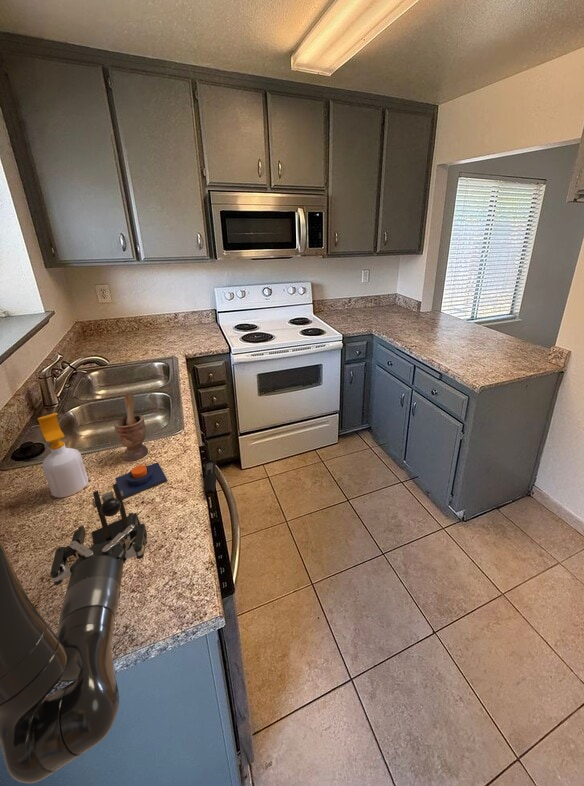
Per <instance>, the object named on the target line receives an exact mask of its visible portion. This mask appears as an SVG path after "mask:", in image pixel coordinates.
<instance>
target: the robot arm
mask: <svg viewBox="0 0 584 786" xmlns="http://www.w3.org/2000/svg"><path fill="white" fill-rule="evenodd" d="M133 514H134V512H129V513H128V515H127V516H128V522H127V528H126V529H125V530H124V531H123V532H122V533H119V534H118V535H117V536H116V537H115V538H114V539H113V540H112V541H111V540H109V541H106V542H104V543H102V544H96V545H94V544H93V545H91V546H90V547H89V548H88V547H87V546H85V545H84V543H85V539H86V535H87V532H86V529H85V526H84V525H81V526H78V528H77V529H76V530H75V531H74V532H73V535H72V538H71V541H70V542H69V543H68V545H67V546H59V547H58V548H56V550H55V553H54V557H53V560H52V564H51V569H50V572H49V575H50V577H51V581H52V582H53V585H54V586H59V585H60V584H62V583H63V581H64V579H66V578H69V580H68V584H67V587H66V591H65V594H64V598H63V603H62V607H61V610H60V614H59V622H58V629H57V631H56V634H55V632H54V631H53V630H52V628H51V627H50V625H49V624H48V623H47V622H46V621H45V619H44V618H43V617H42V615H41V614H40V613H39V611H38V610H37V609H36V607H35V606H34V604H33V602H32V601H31V600H30V598H29V596H28V595H27V593H26V591H25V589H24V588H23V585H22V583H21V581H20V579H19V577H18V575H17V573H16V571H15V569H14V567H13V563H12V561H11V560H10V557H9V555H8V553H7V551H6V548H5V546H4V544H3V542H2V541H1V539H0V747H1V752H2V755H3V761H4V764H5V767H6V770H7V772H8V773H9V775H10V777H11V778H12V779H14V780H15V781H17V782H19V783H21V784H22V783H23V784H36V783H38V782H40V781H43V780H44V779H46V778H48V777H49V776H51V775H53V774H54V773H55V772H57V771H58V770H60V769H61V768H63V767H65V766H66V765H67V764H70V763H71V762H72V761H74V760H76V759H77V758H79V757H80V756H82V755H83V754H84V753H86V752H88V751H89V750H91V749H92V748H94V747H95V746H97V745H98V744H99V743H100V742H102V741H103V740H104V738H106V737H107V735H108V734H109V733H110V730H111V729H112V727H113V725H114V723H115V721H116V718H117V715H118V712H119V707H120V693H119V692H120V691H119V688H118V683H117V677H116V674H115V668H114V660H113V651H112V641H113V633H114V625H115V619H116V615H117V612H118V608H119V602H120V599H121V585H122V579H123V571H124V564H125V563H126V562H127V561H128V559H130V558H134V557H136V559H137V560H141V559H143V558H144V557H145V551H146V545H147V544H146V541H147V539H148V533H147V528H146V524H144V523H140V525H139V526H137V524H138V520H137V516H138V515H137V516H136V514H137V513H136V514H135V515H133ZM128 535H129V536H128ZM135 538H136V540H135V542H133V543H132V546H131V548H130V549H129V550H127V549H128V548H129V546H130V543H131V542H132V541H133V540H134V539H135ZM119 542H120V545H119V544H118V543H119ZM126 550H127V551H126ZM71 557H73V558H74V559H76V560H75V561H74V562H73V563H72V564H71V565H70V567H68V565H67V563H68V558H71ZM59 682H65V683H67V682H70V683H69V684H67V685H65V686H64V687H62V688H61V689H58V690H57V691H55V692H54V693H52V694H50V693H51V692H52V690H53V689H54V688H55V687H56V685H58V683H59ZM49 694H50V695H49Z"/></svg>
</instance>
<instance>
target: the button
mask: <svg viewBox="0 0 584 786" xmlns="http://www.w3.org/2000/svg"><path fill="white" fill-rule="evenodd" d="M146 466H147V465H144V464H140V465H137V466H135V467H133V468H132V469H131V470H132V471H131V470H130V471H131V473H132V477H133V478H135V479H136V478H141V477H143V476H145V475H146V474H147V468H146Z"/></svg>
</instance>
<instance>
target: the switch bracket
mask: <svg viewBox="0 0 584 786" xmlns="http://www.w3.org/2000/svg"><path fill="white" fill-rule="evenodd" d="M112 488H113V489H112V490H113V493H114V497H115V498H116V499H118V500H119V501H120V503H121V507H120V510H119V515H120V519H118V520H116V521H114V522H110V523H109V524H108V521H107V518H106V517H107V516H104V515H103V514H102V513H101V505H102V504H103V502H102V501H101V500H102V499H101V496H100V493H99V490H95V491H93V492H92V494H93V499H94V501H92V505H93V508H94V509H95V508H96V510H97V514H98V517H99V520H100V524H101V527H99V528H97V529H95V530H93V531H91V534H92V539H93V545H96V544H102V543H104V542H106V541H109V540H111V541H112V540H113V539H114V538H115V537H116V536H117V535H118V534H119V533H122V532H123V531H124V530H125V529H126V528H127V522H128V515H127V513H126V508H125V504H124V499H123V500H122V497H123V496H124V495H123V492H122V490H121V491H120V490H119V487H118V484H117V483H116V482H115V483H114V484H112ZM135 514H136V516H137V520H138V524H137V526H139V525H140V524H141V522H140V519H139V517H138V514H137V512H133V515H135ZM128 536H129V535H128ZM135 540H136V538H135V539H134V540H133V541H132V542H131V543H130V546H129V548H128V549H127V550H129V549H130V548H131V546H132V543H133V542H135ZM118 544H119V545H120V542H119V543H118ZM147 544H148V541H147V540H146V545H147ZM127 550H126V551H127Z"/></svg>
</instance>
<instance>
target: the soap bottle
mask: <svg viewBox="0 0 584 786" xmlns="http://www.w3.org/2000/svg"><path fill="white" fill-rule="evenodd" d="M57 415H59V414H58V412H53V413H50V414H46V415H43V416H41V417H38V418H37V421H38V424H39V428H40V430H41V433H42V436H43V438H44V440H45V442H47V443H52V444H50V445H49V449H50V453H49V454H48V455H47V456H46V457H45V458H44V459H43V461H42V464H41V467H42V470H43V473H44V477H45V479H46V482H47V484H48V487H49V490H50V493H51V495H52V496H53V497H55V498H66V497H71V496H73V495H75V494H77V493H79V492H81V491H83V489H85V488H86V486H87V485H88V483H89V478H88V474H87V471H86V467H85V464H84V460H83V457H82V454H81V452H80V451H79V450H78V449H76V448H73V447H66V444H65V442H64V440H63V441H62V439H63V438H65V434H64V432H63V431H62V429H61V426H60V424H59V421H58V417H57Z"/></svg>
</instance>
